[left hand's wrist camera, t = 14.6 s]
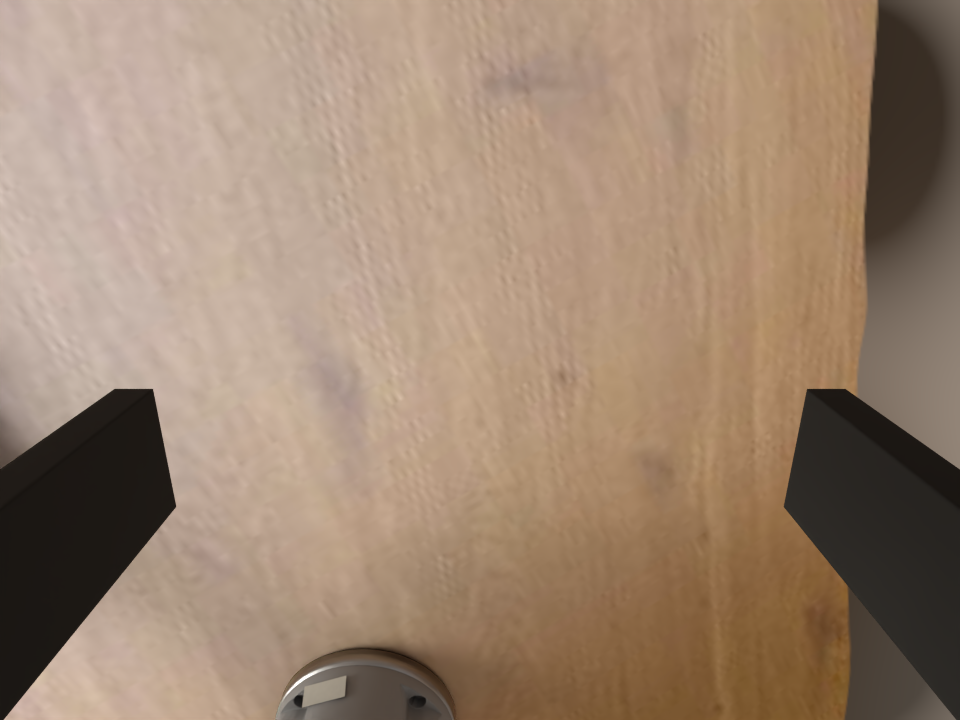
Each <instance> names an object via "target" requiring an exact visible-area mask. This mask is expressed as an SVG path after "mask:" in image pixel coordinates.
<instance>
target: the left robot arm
mask: <svg viewBox="0 0 960 720" xmlns="http://www.w3.org/2000/svg"><path fill="white" fill-rule="evenodd" d="M175 508H176V503H175V498H174V493H173V488H172V483H171V478H170V473H169V468H168V463H167V458H166V453H165V448H164V443H163V438H162V433H161V428H160V423H159V417H158V412H157V407H156V402H155V397H154V392H153V389H114V390H113V391H111V392H110V393H108V394H107V395H105V396H104V397H103V398H101V399H100V400H98V401H97V402H96V403H94V404H93V405H91V406H90V407H88V408H87V409H86V410H84V411H83V412H81V413H80V414H78V415H77V416H76V417H74V418H73V419H71V420H70V421H69V422H67V423H66V424H64V425H63V426H61V427H60V428H59V429H57V430H56V431H54V432H53V433H51V434H50V435H49V436H47V437H46V438H44V439H43V440H42V441H40V442H39V443H37V444H36V445H34V446H33V447H32V448H30V449H29V450H27V451H26V452H25V453H23V454H22V455H20V456H19V457H17V458H16V459H15V460H13V461H12V462H10V463H9V464H7V465H6V466H5V467H3V468H2V469H0V720H4V719H5V717H6V716H7V715H8V714H9V712H10V711H11V710H12V709H13V707H14V706H15V705H16V704H17V702H18V701H19V700H20V699H21V698H22V696H23V695H24V694H25V693H26V691H27V690H28V689H29V688H30V686H31V685H32V684H33V683H34V682H35V680H36V679H37V678H38V677H39V675H40V674H41V673H42V672H43V670H44V669H45V668H46V667H47V665H48V664H49V663H50V662H51V661H52V659H53V658H54V657H55V656H56V654H57V653H58V652H59V651H60V649H61V648H62V647H63V646H64V645H65V643H66V642H67V641H68V640H69V638H70V637H71V636H72V635H73V633H74V632H75V631H76V630H77V628H78V627H79V626H80V625H81V624H82V622H83V621H84V620H85V619H86V617H87V616H88V615H89V614H90V612H91V611H92V610H93V609H94V607H95V606H96V605H97V604H98V603H99V601H100V600H101V599H102V598H103V596H104V595H105V594H106V593H107V591H108V590H109V589H110V588H111V587H112V585H113V584H114V583H115V582H116V580H117V579H118V578H119V577H120V575H121V574H122V573H123V572H124V570H125V569H126V568H127V567H128V566H129V564H130V563H131V562H132V561H133V559H134V558H135V557H136V556H137V554H138V553H139V552H140V551H141V550H142V548H143V547H144V546H145V545H146V543H147V542H148V541H149V540H150V538H151V537H152V536H153V535H154V533H155V532H156V531H157V530H158V529H159V527H160V526H161V525H162V524H163V522H164V521H165V520H166V519H167V517H168V516H169V515H170V514H171V512H172V511H173V510H174V509H175ZM784 508H785V509H786V510H787V511H788V513H789V514H790V515H791V516H792V517H793V519H794V520H795V521H796V522H797V524H798V525H799V526H800V527H801V529H802V530H803V531H804V532H805V533H806V535H807V536H808V537H809V538H810V540H811V541H812V542H813V543H814V545H815V546H816V547H817V548H818V550H819V551H820V552H821V553H822V554H823V556H824V557H825V558H826V559H827V561H828V562H829V563H830V564H831V566H832V567H833V568H834V569H835V570H836V572H837V573H838V574H839V575H840V577H841V578H842V579H843V580H844V582H845V583H846V584H847V585H848V587H849V588H850V589H851V590H852V591H853V593H854V594H855V595H856V596H857V598H858V599H859V600H860V601H861V603H862V604H863V605H864V606H865V607H866V609H867V610H868V611H869V612H870V614H871V615H872V616H873V617H874V619H875V620H876V621H877V622H878V623H879V625H880V626H881V627H882V628H883V630H884V631H885V632H886V633H887V635H888V636H889V637H890V638H891V640H892V641H893V642H894V643H895V644H896V646H897V647H898V648H899V649H900V651H901V652H902V653H903V654H904V656H905V657H906V658H907V659H908V661H909V662H910V663H911V664H912V665H913V667H914V668H915V669H916V670H917V672H918V673H919V674H920V675H921V677H922V678H923V679H924V680H925V681H926V683H927V684H928V685H929V686H930V688H931V689H932V690H933V691H934V693H935V694H936V695H937V696H938V698H939V699H940V700H941V701H942V702H943V704H944V705H945V706H946V707H947V709H948V710H949V711H950V712H951V714H952V715H953V716H954V717H955V718H956V720H960V469H958V468H957V467H955V466H954V465H953V464H951V463H950V462H948V461H947V460H945V459H944V458H943V457H941V456H940V455H938V454H937V453H935V452H934V451H933V450H931V449H930V448H928V447H927V446H926V445H924V444H923V443H921V442H920V441H918V440H917V439H916V438H914V437H913V436H911V435H910V434H908V433H907V432H906V431H904V430H903V429H901V428H900V427H898V426H897V425H896V424H894V423H893V422H891V421H890V420H889V419H887V418H886V417H884V416H883V415H881V414H880V413H879V412H877V411H876V410H874V409H873V408H872V407H870V406H869V405H867V404H866V403H864V402H863V401H862V400H860V399H859V398H857V397H856V396H855V395H853V394H852V393H850V392H849V391H847V390H846V389H807V392H806V397H805V402H804V407H803V412H802V417H801V423H800V428H799V433H798V438H797V443H796V448H795V453H794V458H793V463H792V468H791V473H790V478H789V483H788V488H787V493H786V498H785V503H784ZM275 720H456V710H455V706H454V702H453V700H452V697H451V695H450V693H449V691H448V690H447V688H446V687H445V685H444V684H443V683H442V682H441V680H440V679H439V678H438V677H437V676H436V675H435V674H433V673H432V672H431V671H430V670H428V669H427V668H425V667H424V666H422V665H421V664H419V663H417V662H415V661H413V660H411V659H409V658H407V657H404V656H401V655H398V654H395V653H391V652H386V651H381V650H373V649H353V650H345V651H340V652H335V653H332V654H328V655H325V656H323V657H320V658H318V659H316V660H314V661H312V662H311V663H309V664H307V665H306V666H305V667H303V668H302V669H301V670H300V671H299V672H297V673H296V674H295V675H294V677H293V678H292V679H291V680H290V682H289V683H288V685H287V687H286V689H285V691H284V693H283V696H282V699H281V702H280V705H279V707H278V711H277V714H276V718H275Z"/></svg>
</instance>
